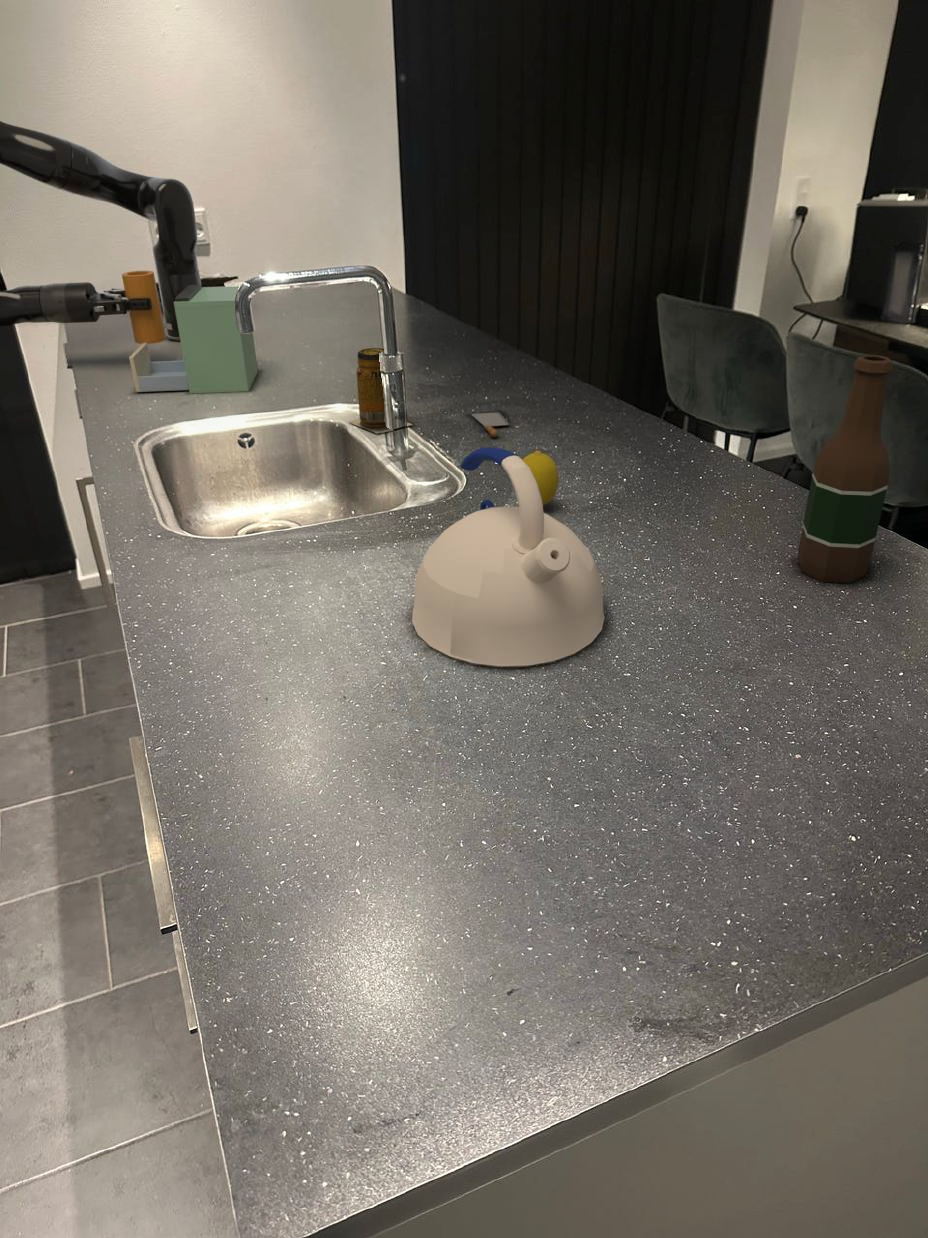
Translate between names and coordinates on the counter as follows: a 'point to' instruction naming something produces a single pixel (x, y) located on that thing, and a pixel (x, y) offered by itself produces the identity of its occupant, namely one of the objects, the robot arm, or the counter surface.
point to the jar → (144, 321)
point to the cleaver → (491, 421)
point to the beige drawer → (156, 373)
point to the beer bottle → (849, 483)
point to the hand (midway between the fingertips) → (155, 300)
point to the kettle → (508, 581)
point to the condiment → (370, 392)
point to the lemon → (543, 474)
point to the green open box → (214, 341)
